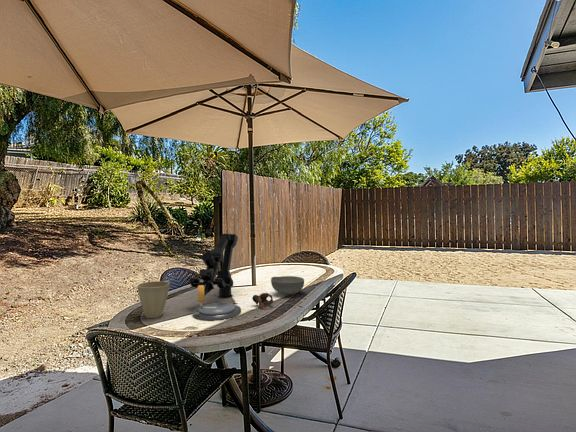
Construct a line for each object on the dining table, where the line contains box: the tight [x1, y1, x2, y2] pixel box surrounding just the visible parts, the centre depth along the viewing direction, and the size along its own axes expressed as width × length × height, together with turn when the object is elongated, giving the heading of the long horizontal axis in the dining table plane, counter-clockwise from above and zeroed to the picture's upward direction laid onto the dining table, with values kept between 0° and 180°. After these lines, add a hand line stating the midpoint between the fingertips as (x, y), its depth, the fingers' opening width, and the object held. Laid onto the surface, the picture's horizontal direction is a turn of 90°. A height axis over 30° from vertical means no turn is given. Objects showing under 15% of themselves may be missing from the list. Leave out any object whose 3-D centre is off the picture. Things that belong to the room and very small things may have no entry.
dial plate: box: [192, 304, 242, 322], centre depth 178 cm, size 24×24×2 cm
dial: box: [197, 285, 235, 316], centre depth 178 cm, size 19×18×12 cm
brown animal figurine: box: [251, 292, 274, 310], centre depth 189 cm, size 12×10×8 cm
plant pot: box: [136, 280, 170, 319], centre depth 175 cm, size 15×15×16 cm
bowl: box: [270, 275, 305, 296], centre depth 214 cm, size 20×20×10 cm
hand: (202, 296), depth 180 cm, fingers closed, pressing on dial
